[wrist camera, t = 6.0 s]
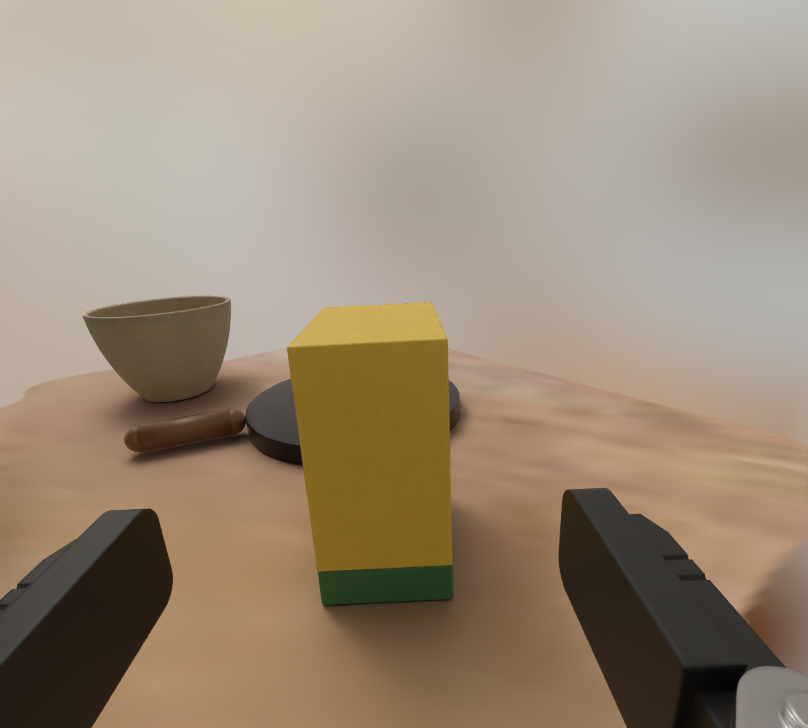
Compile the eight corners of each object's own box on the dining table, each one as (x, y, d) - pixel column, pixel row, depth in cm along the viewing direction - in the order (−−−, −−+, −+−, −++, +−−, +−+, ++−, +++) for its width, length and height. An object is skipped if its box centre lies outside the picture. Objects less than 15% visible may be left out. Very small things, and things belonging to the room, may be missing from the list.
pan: (94, 529, 19) (83, 494, 19) (149, 412, 32) (144, 389, 31) (501, 434, 26) (502, 405, 25) (413, 368, 38) (412, 348, 38)
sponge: (321, 606, 15) (286, 346, 12) (343, 499, 20) (323, 307, 18) (453, 600, 15) (447, 338, 12) (438, 494, 20) (432, 301, 18)
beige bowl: (250, 398, 33) (234, 305, 31) (96, 428, 30) (65, 324, 27) (239, 364, 42) (226, 290, 40) (118, 384, 38) (97, 303, 36)
